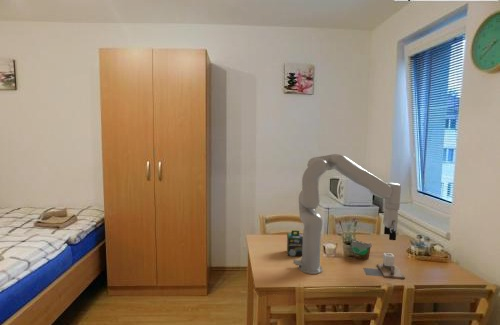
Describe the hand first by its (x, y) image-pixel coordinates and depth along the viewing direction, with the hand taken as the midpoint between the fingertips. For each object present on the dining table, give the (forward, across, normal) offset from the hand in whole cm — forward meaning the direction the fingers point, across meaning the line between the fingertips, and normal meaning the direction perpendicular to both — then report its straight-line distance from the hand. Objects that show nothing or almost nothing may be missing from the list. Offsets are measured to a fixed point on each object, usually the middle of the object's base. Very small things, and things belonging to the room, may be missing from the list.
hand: (389, 237), depth 168 cm
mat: (+18, +6, -9) cm, 21 cm away
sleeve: (+17, 0, 0) cm, 17 cm away
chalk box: (+19, -12, -51) cm, 55 cm away
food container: (+18, -13, -13) cm, 26 cm away
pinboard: (+18, +4, 0) cm, 18 cm away
